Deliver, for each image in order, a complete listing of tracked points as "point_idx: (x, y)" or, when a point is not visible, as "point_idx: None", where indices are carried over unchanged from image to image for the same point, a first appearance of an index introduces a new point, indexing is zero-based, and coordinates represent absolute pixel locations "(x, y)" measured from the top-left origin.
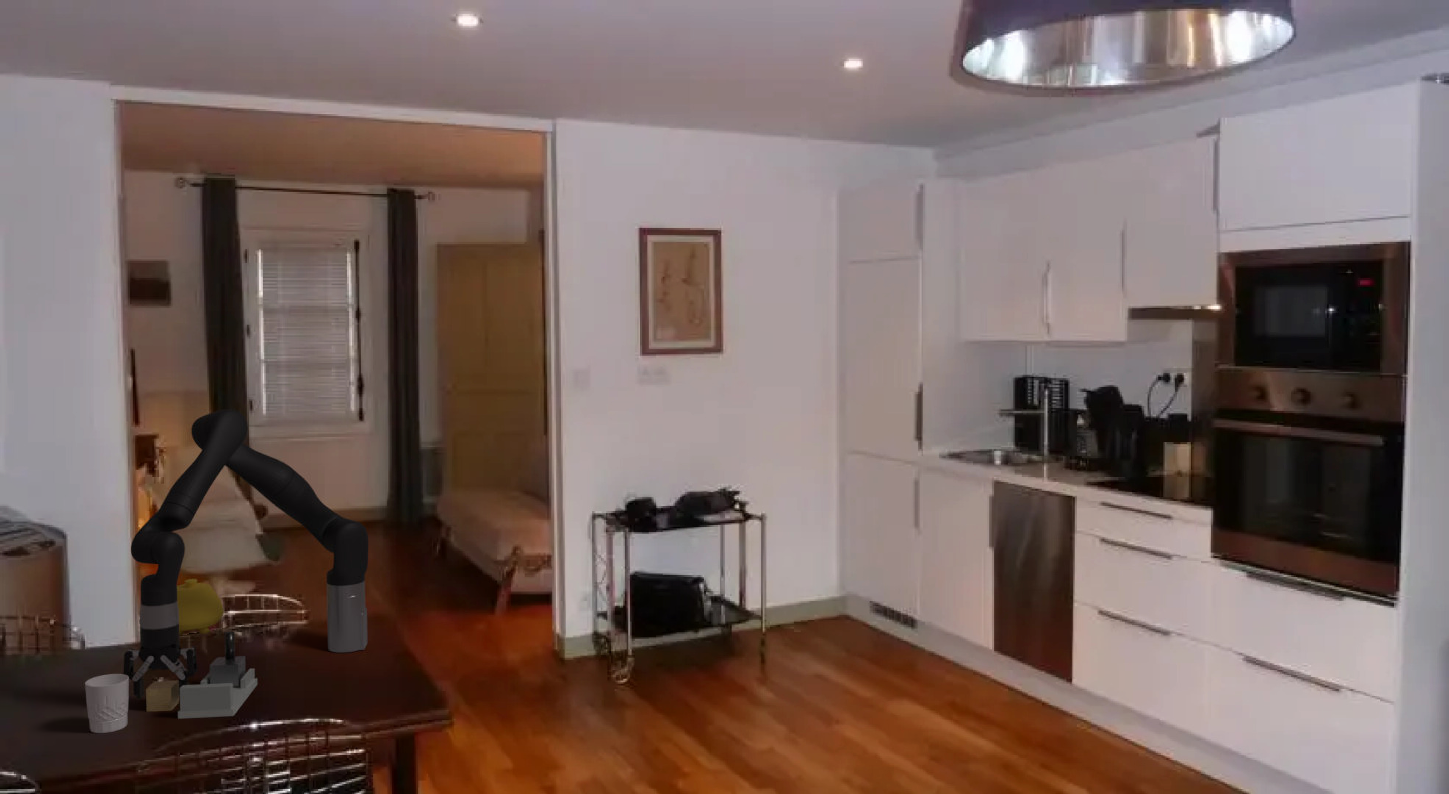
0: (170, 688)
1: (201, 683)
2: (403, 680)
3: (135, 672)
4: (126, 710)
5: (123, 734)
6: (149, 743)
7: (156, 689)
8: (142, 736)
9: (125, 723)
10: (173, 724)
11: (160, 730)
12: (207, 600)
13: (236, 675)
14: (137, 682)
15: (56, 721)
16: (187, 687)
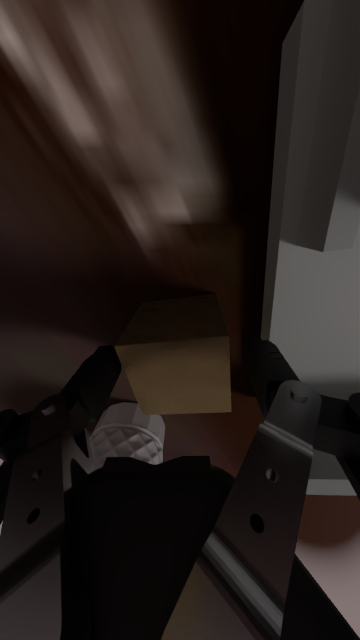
0: (229, 410)
1: (322, 248)
2: None
3: (27, 438)
4: (159, 456)
5: (180, 442)
6: (240, 466)
7: (179, 411)
8: (217, 449)
9: (163, 429)
10: (254, 418)
11: (238, 435)
12: None
13: None
14: (89, 420)
15: (9, 394)
16: (327, 491)
